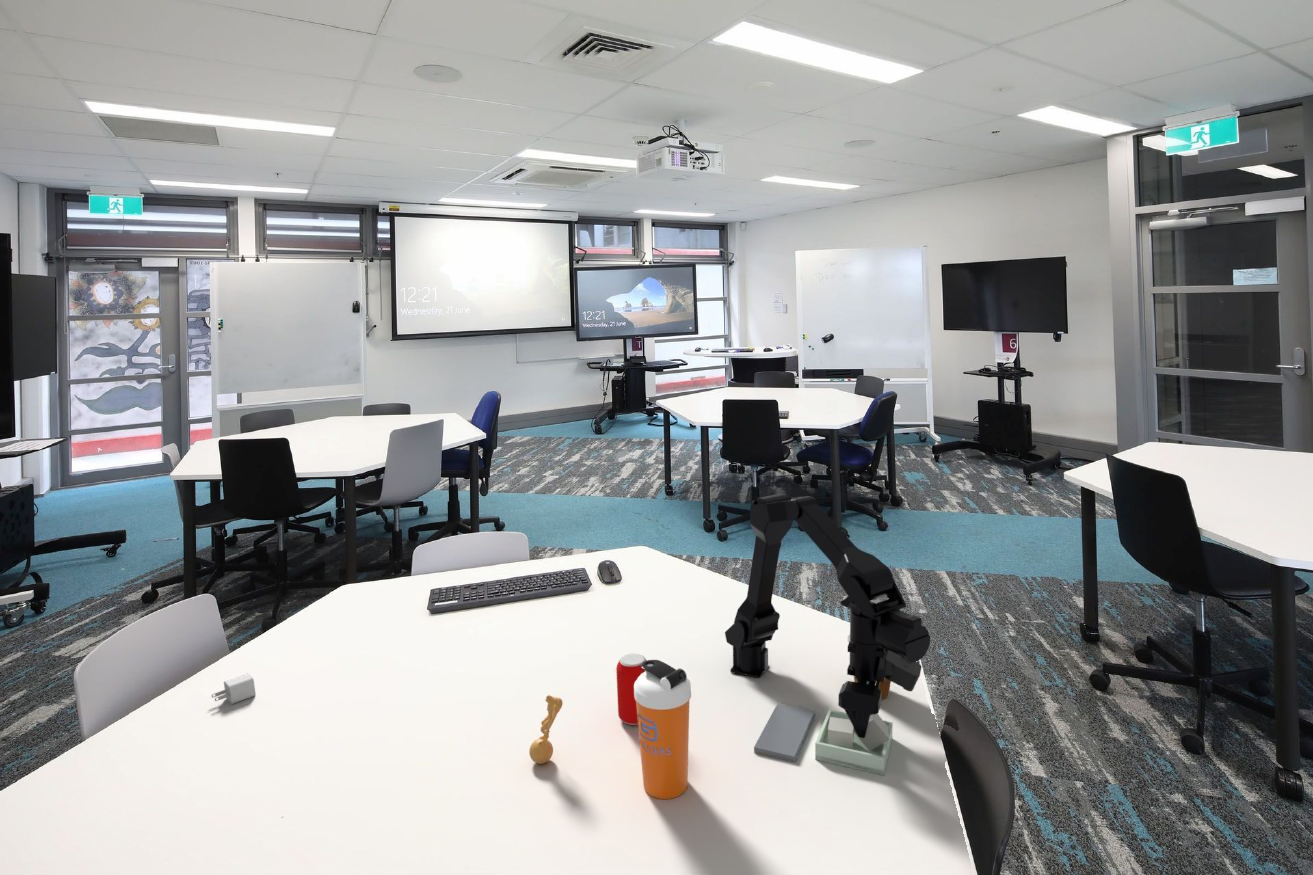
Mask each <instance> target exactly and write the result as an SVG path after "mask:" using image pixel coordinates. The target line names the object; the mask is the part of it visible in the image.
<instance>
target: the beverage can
mask: <svg viewBox="0 0 1313 875" xmlns="http://www.w3.org/2000/svg"><path fill="white" fill-rule="evenodd" d="M645 661H647V659H646V657H645V656H644V655H643V654H640V653H628V654H624V655H623V656H622V657H621V658H620V659H619V660H618V663H617V664H616V667H615V668H616V670H615V672H616V689H617V694H616V695H617V714H618V715H617V716H618V717H619V719H620V721H622V722H623V723H624V724H627V725H631V726H632V725H633V726H638V717H637V706H636V700H635V698H634V683H635V682H636V680H637V679H638V677H639V676H640V675H641V674H642V673H644V672H645V670H643V669H642V667H641V666H642V663H643V662H645Z"/></svg>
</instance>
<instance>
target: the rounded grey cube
mask: <svg viewBox="0 0 1313 875" xmlns="http://www.w3.org/2000/svg"><path fill="white" fill-rule="evenodd" d="M828 744H830V745H834V746H839V747H843V748H848V749H852V750H853V744H854V727H853V725H852V723H851V721H850V720H849V719H842V718H835V717H830V720H829V726H828Z"/></svg>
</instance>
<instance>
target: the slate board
mask: <svg viewBox="0 0 1313 875" xmlns="http://www.w3.org/2000/svg"><path fill="white" fill-rule="evenodd" d="M814 718H815V710H813V709H807V708H803V707H798V706H793V705H788V704H783V703H778V702H777V703H776V705H775V707H774V709H773V711H772V713H771V715H770V717H769V718H768V720H767V722H766V724H765V726H764V727H763V730H762V731H761V733H760V735H759V737H758V739H757V740H756V743H755V744H754V746H753V752H754V753H755V754H760V755H763V756H767V757H770V758H771V757H772V758H775V759H776V758H777V759H780V760H784V761H788V762H793V763H795V762H796V760H797V757H798V756H799V753H800V750H801V748H802V746H803V743H804V742H805V739H806V737H807V734H808V732H809V729H810V727H811V725H812V723H813V720H814Z"/></svg>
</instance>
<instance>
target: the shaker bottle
mask: <svg viewBox="0 0 1313 875" xmlns="http://www.w3.org/2000/svg"><path fill="white" fill-rule="evenodd" d="M646 660H647V659H646ZM641 667H642V669H643V670H645V672H644V673H642V674H641V675H640V676H639V677H638V679H637V680H636V682H635V683H634V698H635V700H636V706H637V717H638V725H637V726H638V727H637V728H638V736H639V738H638V739H639V749H640V760H641V761H640V763H641V773H642V782H643V789H644V791H645V792H646V793H647V794H648V795H649V796H651V797H653V798H656V799H661V800H670V799H674V798H677V797H679V796H681V795H682V794H684V793H685V791H686V790H687V788H688V780H689V779H688V775H689V739H690V738H689V737H690V735H689V733H690V732H689V730H690V700H691V697H692V690H691V688H692V686H691V685H692V684H691V680H690V679H689V678H688V675H687V672H686V671H685V670H684V669H683V668H677V669H676V668H674V667H672V666H671V665H669V664H668V663H666V662H664V661H661V660H658V659H648V660H647V661H645V662H643V663H642V666H641Z"/></svg>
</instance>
